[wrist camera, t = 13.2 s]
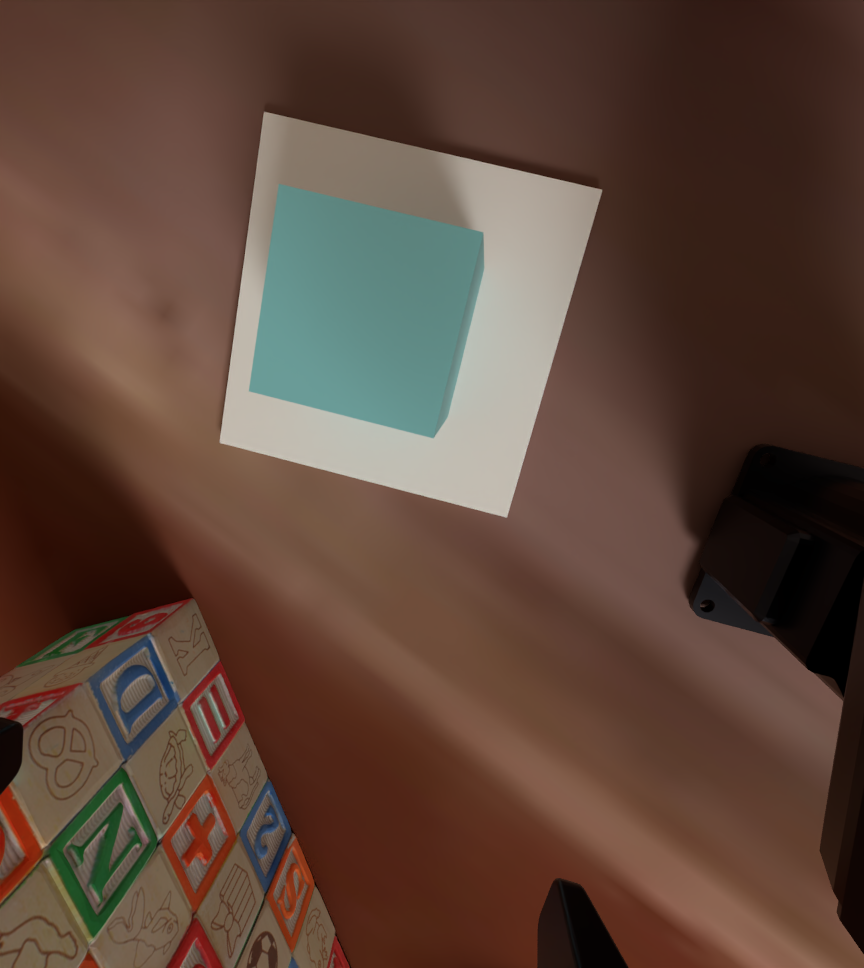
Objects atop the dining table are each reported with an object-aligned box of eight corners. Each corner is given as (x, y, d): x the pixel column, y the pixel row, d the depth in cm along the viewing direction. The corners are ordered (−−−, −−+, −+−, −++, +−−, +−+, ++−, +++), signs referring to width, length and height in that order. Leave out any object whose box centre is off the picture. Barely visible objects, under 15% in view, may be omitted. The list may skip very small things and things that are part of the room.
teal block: (484, 268, 17) (483, 232, 12) (447, 417, 18) (433, 438, 13) (337, 233, 17) (278, 183, 12) (311, 382, 18) (248, 391, 14)
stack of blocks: (361, 977, 26) (253, 1511, 14) (249, 990, 27) (58, 1498, 15) (194, 592, 22) (-169, 882, 10) (69, 625, 23) (-399, 925, 11)
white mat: (599, 194, 16) (602, 189, 16) (506, 514, 19) (506, 517, 19) (269, 117, 17) (264, 111, 16) (224, 440, 20) (219, 442, 19)
